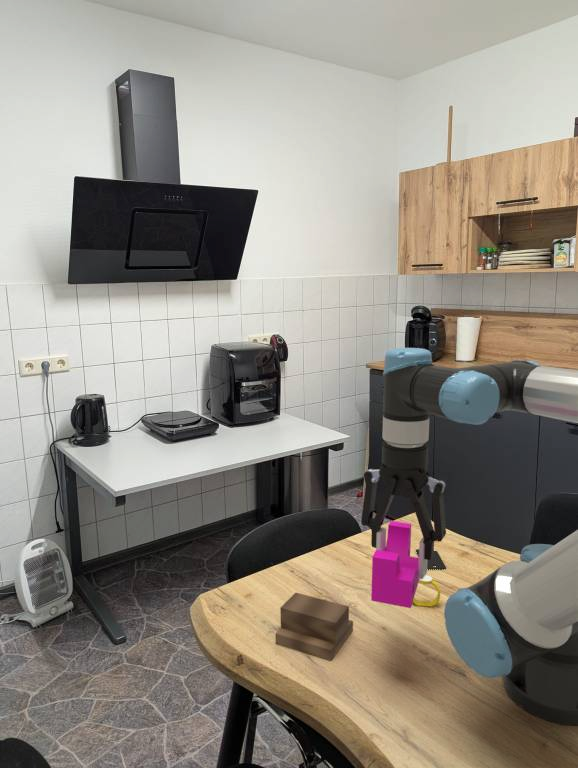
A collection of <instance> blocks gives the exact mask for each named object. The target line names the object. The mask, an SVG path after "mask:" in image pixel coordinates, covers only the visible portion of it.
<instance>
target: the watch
mask: <svg viewBox="0 0 578 768" xmlns="http://www.w3.org/2000/svg"><path fill="white" fill-rule="evenodd" d="M418 584H423V585H433V586H434V587H435V589H436V590H437V595H436V598H435V599H434V600H432V601H419V600H417V599H416V598H415V597H414V599H413V602H412V604H414V605H415V606H417V607H419V606H420V607H429V608H432V607H434V606H436V605H437V604H438V603H439V600H440V599H441V590H440V589H441V588H440V586H439V584H438V583H437V582H436V580H433V577H432V576H430V575H427V574H426V575H425V576H424V578H423V579H419V583H418Z"/></svg>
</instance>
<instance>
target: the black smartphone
mask: <svg viewBox="0 0 578 768" xmlns="http://www.w3.org/2000/svg"><path fill="white" fill-rule="evenodd" d="M416 552H417V553H416ZM415 553H416V555H417V554H418V555H417V558H419V548H417V549H415ZM435 566H436V567H435ZM427 569H428V570H427V571H445V570H444V569H446V570H447V566H446V565H445V563H444V560H443V559H442V558H441V556H440V554H439V552H438V550H436V551H434V555H433V557H432V558H431V560H428V562H427ZM429 569H430V570H429ZM431 569H432V570H431ZM433 569H434V570H433ZM435 569H436V570H435ZM437 569H438V570H437ZM439 569H440V570H439ZM442 569H443V570H442Z"/></svg>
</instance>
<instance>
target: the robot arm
mask: <svg viewBox="0 0 578 768" xmlns="http://www.w3.org/2000/svg"><path fill="white" fill-rule="evenodd" d="M432 359H433V358H432V352H431V351H430V350H428V349H426V348H419V347H417V348H416V347H395V348H392V349H389V350H387V351H386V354H385V357H384V364H383V365H384V366H383V372H382V376H383V397H382V399H383V401H382V402H383V405H382V407H383V408H382V436H381V437H382V439H383V440H384V441H383V442H382V445H381V466H380V468H379V469H375V468H373V467H371V468H369V469H368V470H367V471H365V472H364V473H363V477H364V478H363V479H364V482H365V488H364V489H365V490H364V497H363V504H362V505H363V506H362V513H361V520H360V523H361V525H362V526H366V527H367V528H369V529H370V530H371V539H370V540H371V547H372V548H375V551H376V550H381V551H385V549H386V543H387V527H384V526H383V525H384V522H385V519H386V517H387V514H388V512H389V510H390V506H391V505H392V502H393V501H394V497H396V496H397V497H400V496H402V497H404V498H409V502H410V503H411V505H412V506H413V509H414V513H415V515H416V519H417V521H418V525H419V528H420V531H421V535H422V538H421V540H419V543H418V546H419V547H418V549H419V557H418V558H419V567H418V569H419V570H418V578H419V579H423V578H424V576H425V575H427V573H428V570H427V562H428V560H431V558H432V557H433V555H434V550H435V542H438V543H439V542H442V541H443V539H444V538H445V536H446V535H447V529H446V514H445V499H444V493H445V489H446V486H447V481H446V480H445V479H442V478H441V479H439V480H438V479H436V478H433V477H432V476H431V475H430V473H429V471H428V470H429V469H428V465H429V444H427V442H428V441H429V436H430V415H434V416H437V417H439V418H444V419H446V420H450V421H453V422H456V423H457V424H468V425H483V424H485V423H486V422H488V420H489V419H490V418H492V417H493V416H494V414H495V413H499V412H505V411H514V412H518V413H525V414H530V415H536V416H537V415H538V416H541V417H546V418H550V419H555V420H559V421H565V422H570V423H575V424H578V369H571V368H565V367H564V368H563V367H555V366H546V365H541V364H539V362H536V361H534V360H521V359H520V360H518V359H517V360H516V359H515V360H512V361H507V362H502V363H501V362H500V363H492V364H483V365H474V366H466V367H455V368H454V367H446V366H438V365H435V364H433V363H434V361H433V360H432ZM380 479H381V480H382V482H383V483H384V485H385V486H386V488H385V490H384V492H383V495H382V499H381V501H380V504H379V506H378V509H377V511H376V514H375V516H374V511H375V510H374V509H375V503H376V495H377V490H378V489H377V488H378V482H379V480H380ZM425 486H429V491H430V493H431V494H432V497H431V502H432V504H431V505H432V514H433V515H432V517H433V524H432V519H431V517H430V513H429V510H428V507H427V505H426V501H425V495H424V490H423V489H424V487H425ZM443 615H444V625H445V628H446V629H445V630H446V632H447V635H448V637H449V640H450V642H451V645H452V646H453V648H454V650H455V653H457V655H458V656H459V658H460V659H461V660H462V662H464V664H465V665H466V666H467V667H468V668H470V669H472V670H473V672H475V673H476V674H477V675H479V676H481V677H483V678H487V679H496V678H499V677H501V676H502V683H503V688H504V690H505V692H506V693H507V695H508V696H509V697H510V698H511V699H512V700H513V702H514V703H516V704H517V705H519V707H521V708H522V709H524V710H525V711H527V712H529V713H530V714H531V715H534V716H535V717H539V718H540V719H544V720H546V721H549V722H552V723H556V724H561V725H562V724H563V725H569V726H570V725H571V726H572V725H573V726H578V529H576V530H575V531H574V532H572V533H571V534H568V536H566V537H564V538H563V539H561V540H560V541H558V542H557V543H556V544H549V543H548V544H546V543H534V544H533V543H531V544H528V545H525V546H524V547H523V548H522V550H521V553H520V555H519V560H511V561H509V562H506V563H504V564H503V565H502V566H500V567H499V568H497V569H495V570H494V571H493V572H491V573H490V574H489V575H487V576H486V577H484V578H482V579H481V580H480V581H478V582H475V583H474V584H472V585H470V586H467V587H462V588H459V589H458V590H457V591H456V592H454V593H452V594H451V595H449V596H448V598H447V600H446V602H445V605H444V609H443Z"/></svg>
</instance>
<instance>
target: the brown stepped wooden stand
mask: <svg viewBox="0 0 578 768" xmlns="http://www.w3.org/2000/svg"><path fill="white" fill-rule="evenodd" d="M279 612H280V628H279V629H277V631H276V632H275V644H276V645H278V646H283V647H286V648H289V649H292V650H296V651H299V652H302V653H305V654H308V655H312V656H314V657H318V658H321V659H324V660H328V661H332V660H333V659H334V657H335V656H336V654H337V653H339V650H340V649H341V647H343V645H344V643H346V641H347V640H348V638H349V637H350V635H351V634H352V633H353V631H354V621H353V620H352V619H350V605H345V604H341V603H337V602H334V601H330V600H326V599H322V598H319V597H315V596H311V595H306V594H302V593H299V592H294V593H293V594H292V595H291V597H290V598H288V599H287V601H285V602H284V603H283V605H282V606H280V611H279Z"/></svg>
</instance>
